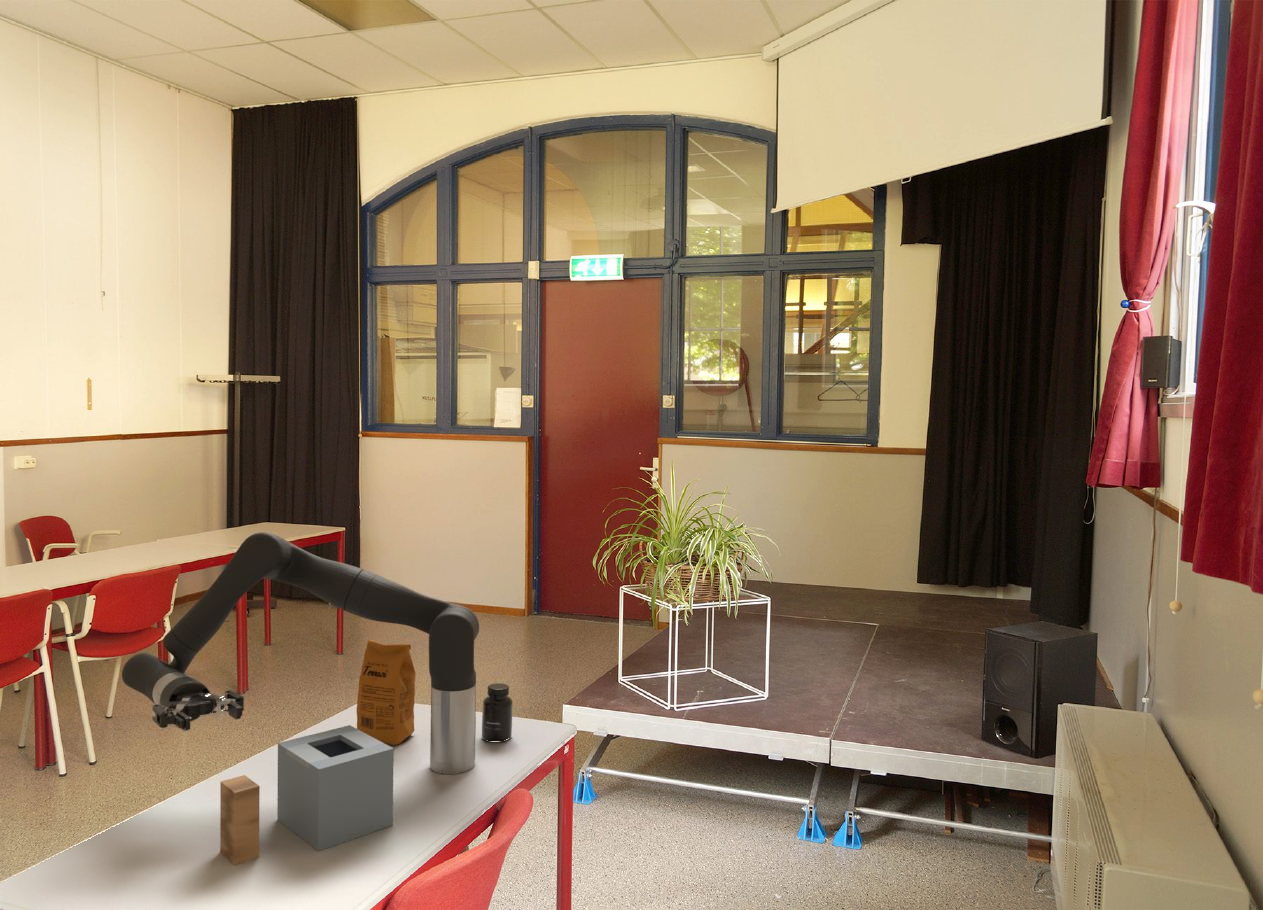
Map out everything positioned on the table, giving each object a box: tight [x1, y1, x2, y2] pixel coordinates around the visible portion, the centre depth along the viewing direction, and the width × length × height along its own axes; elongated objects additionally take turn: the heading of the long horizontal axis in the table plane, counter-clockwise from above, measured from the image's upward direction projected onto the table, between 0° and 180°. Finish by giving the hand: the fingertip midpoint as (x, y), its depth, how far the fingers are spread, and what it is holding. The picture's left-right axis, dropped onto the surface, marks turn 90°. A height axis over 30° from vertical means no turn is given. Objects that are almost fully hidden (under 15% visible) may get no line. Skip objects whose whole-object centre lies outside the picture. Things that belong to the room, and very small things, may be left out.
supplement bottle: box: [481, 682, 514, 742], centre depth 204 cm, size 7×7×12 cm
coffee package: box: [356, 639, 416, 746], centre depth 203 cm, size 10×12×22 cm
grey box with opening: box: [276, 724, 395, 852], centre depth 160 cm, size 16×14×14 cm
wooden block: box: [219, 774, 260, 866], centre depth 148 cm, size 6×4×12 cm, turn 45°
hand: (214, 718), depth 155 cm, fingers open, 8 cm apart
